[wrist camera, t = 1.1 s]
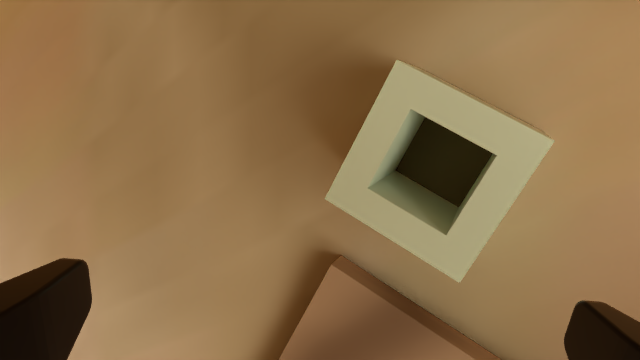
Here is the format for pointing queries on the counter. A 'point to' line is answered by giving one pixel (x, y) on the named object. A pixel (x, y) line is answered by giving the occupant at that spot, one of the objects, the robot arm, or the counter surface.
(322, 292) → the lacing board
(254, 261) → the counter surface
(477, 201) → the square hollow cube
